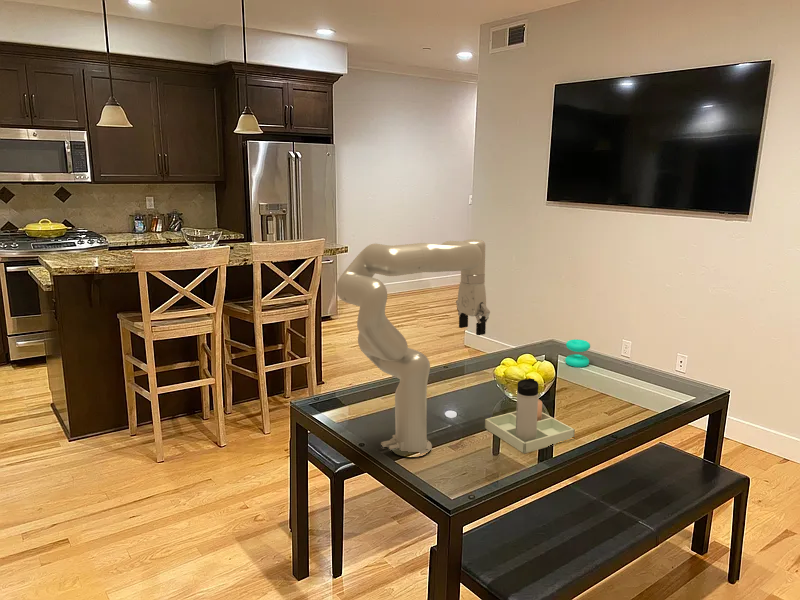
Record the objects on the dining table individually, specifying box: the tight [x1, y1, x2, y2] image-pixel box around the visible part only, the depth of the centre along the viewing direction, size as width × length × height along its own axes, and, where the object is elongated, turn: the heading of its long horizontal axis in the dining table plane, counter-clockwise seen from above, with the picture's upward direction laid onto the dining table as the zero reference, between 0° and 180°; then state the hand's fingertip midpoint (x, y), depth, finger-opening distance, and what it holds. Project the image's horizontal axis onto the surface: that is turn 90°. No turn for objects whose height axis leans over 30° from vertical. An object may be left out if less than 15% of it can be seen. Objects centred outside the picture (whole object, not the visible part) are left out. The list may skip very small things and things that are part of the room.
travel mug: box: [515, 378, 539, 442], centre depth 180 cm, size 6×7×20 cm
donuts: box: [564, 338, 591, 368], centre depth 254 cm, size 10×10×10 cm
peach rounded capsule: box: [537, 398, 543, 421], centre depth 194 cm, size 7×7×8 cm
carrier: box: [484, 410, 575, 454], centre depth 188 cm, size 20×20×4 cm
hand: (471, 330), depth 191 cm, fingers open, 9 cm apart
